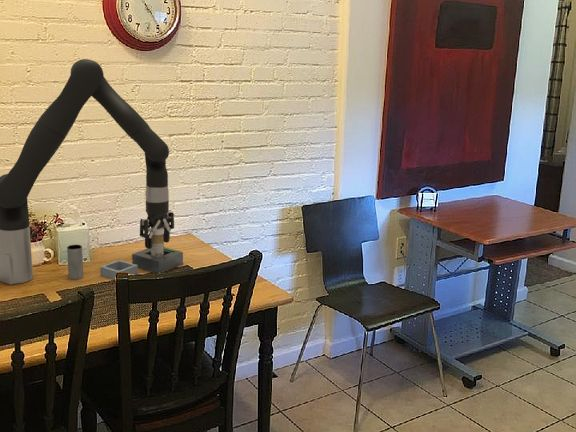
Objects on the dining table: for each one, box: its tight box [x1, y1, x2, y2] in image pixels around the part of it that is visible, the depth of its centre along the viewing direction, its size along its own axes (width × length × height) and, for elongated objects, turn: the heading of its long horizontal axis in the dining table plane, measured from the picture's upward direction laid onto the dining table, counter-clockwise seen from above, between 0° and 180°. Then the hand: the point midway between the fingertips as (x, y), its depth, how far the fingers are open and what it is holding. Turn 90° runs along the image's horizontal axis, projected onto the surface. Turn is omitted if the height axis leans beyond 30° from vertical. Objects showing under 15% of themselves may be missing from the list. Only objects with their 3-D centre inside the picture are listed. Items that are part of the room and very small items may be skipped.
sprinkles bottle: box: [150, 227, 165, 257], centre depth 218 cm, size 5×5×13 cm
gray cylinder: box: [66, 244, 84, 281], centre depth 205 cm, size 4×4×10 cm
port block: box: [131, 246, 184, 274], centre depth 219 cm, size 12×12×5 cm
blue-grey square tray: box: [99, 259, 139, 281], centre depth 209 cm, size 8×8×3 cm
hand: (157, 245), depth 217 cm, fingers open, 8 cm apart
